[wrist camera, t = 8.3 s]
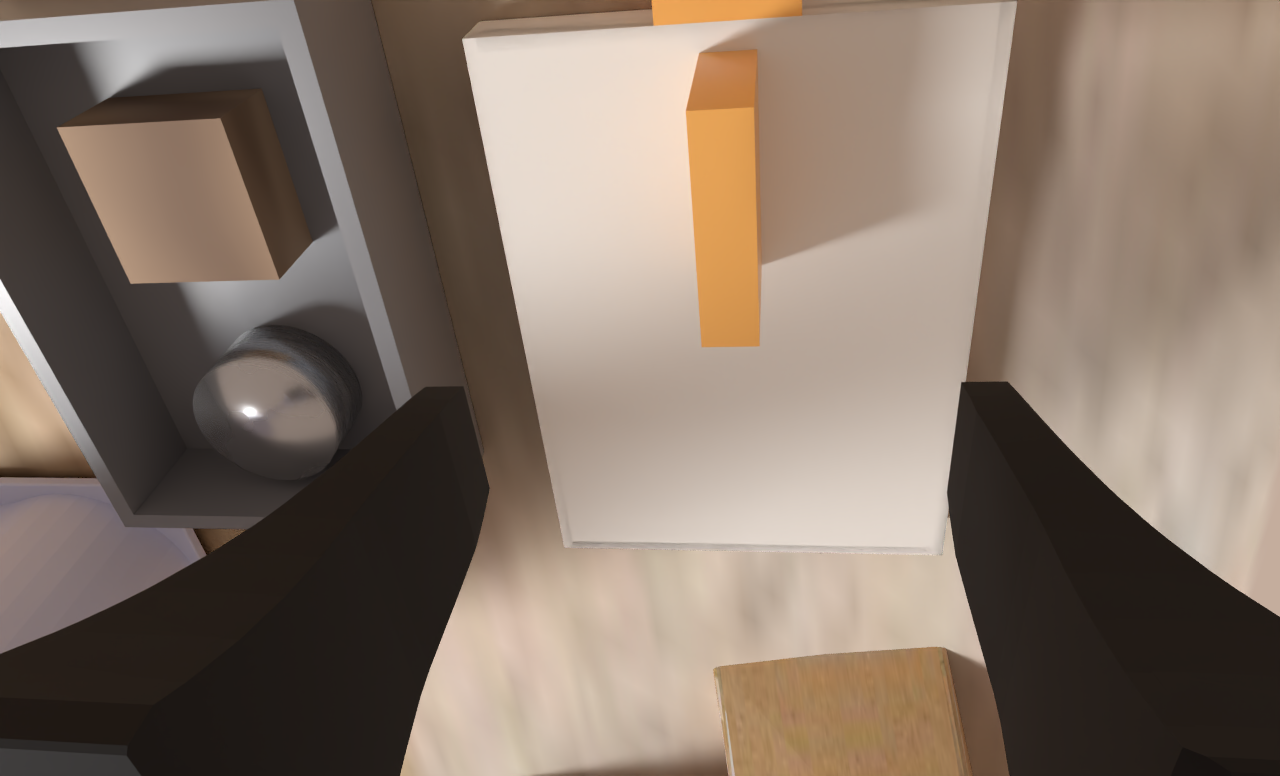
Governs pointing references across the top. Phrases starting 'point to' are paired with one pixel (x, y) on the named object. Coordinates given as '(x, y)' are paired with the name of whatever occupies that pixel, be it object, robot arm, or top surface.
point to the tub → (217, 310)
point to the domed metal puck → (278, 402)
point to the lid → (746, 260)
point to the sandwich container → (843, 715)
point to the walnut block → (190, 186)
